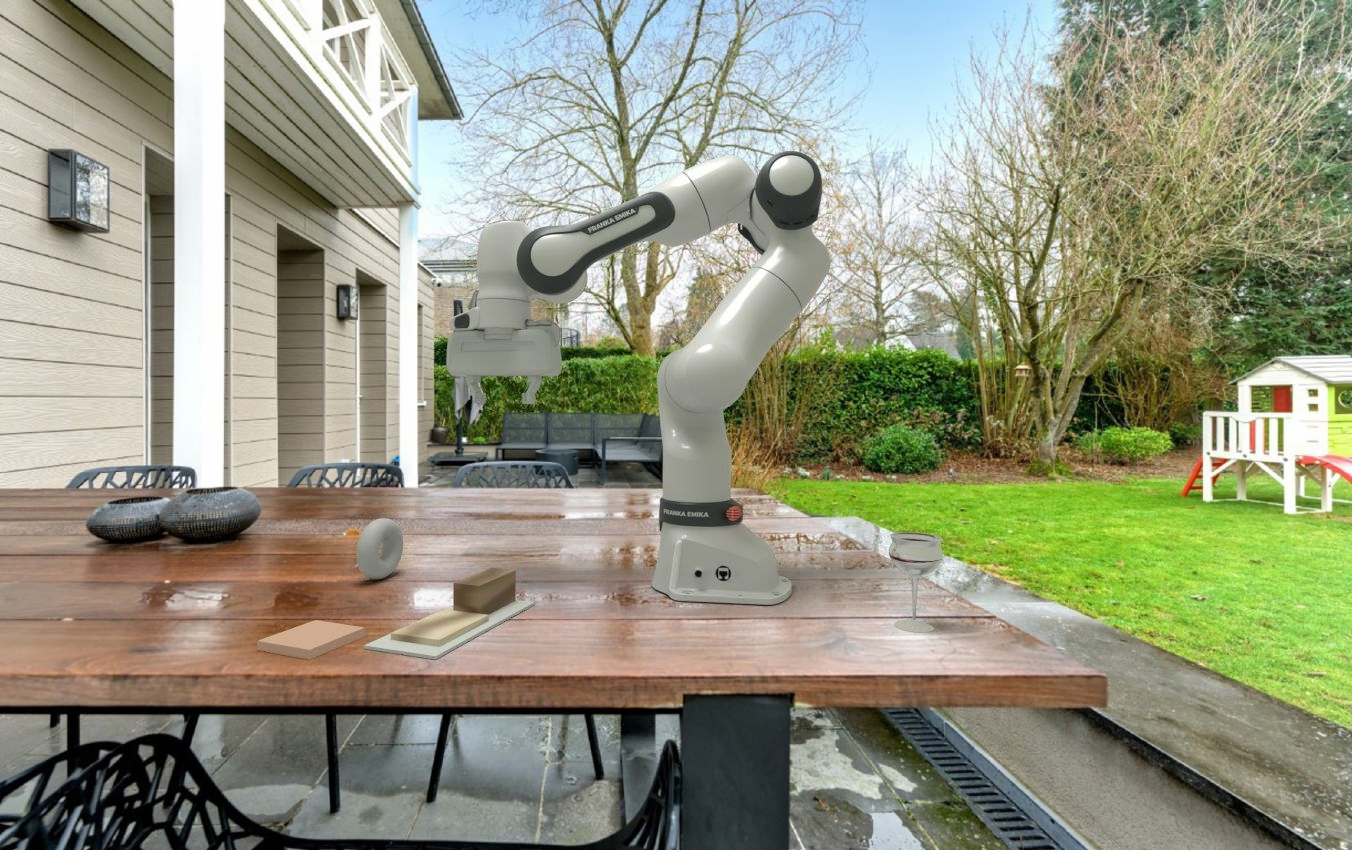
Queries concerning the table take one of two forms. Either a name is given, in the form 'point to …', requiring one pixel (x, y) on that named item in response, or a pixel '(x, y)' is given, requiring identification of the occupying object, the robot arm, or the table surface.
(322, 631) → the tile
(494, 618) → the mat
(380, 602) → the table surface
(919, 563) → the wineglass
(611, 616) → the table surface
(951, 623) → the table surface
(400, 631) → the stepped slab stack
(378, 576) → the donut
